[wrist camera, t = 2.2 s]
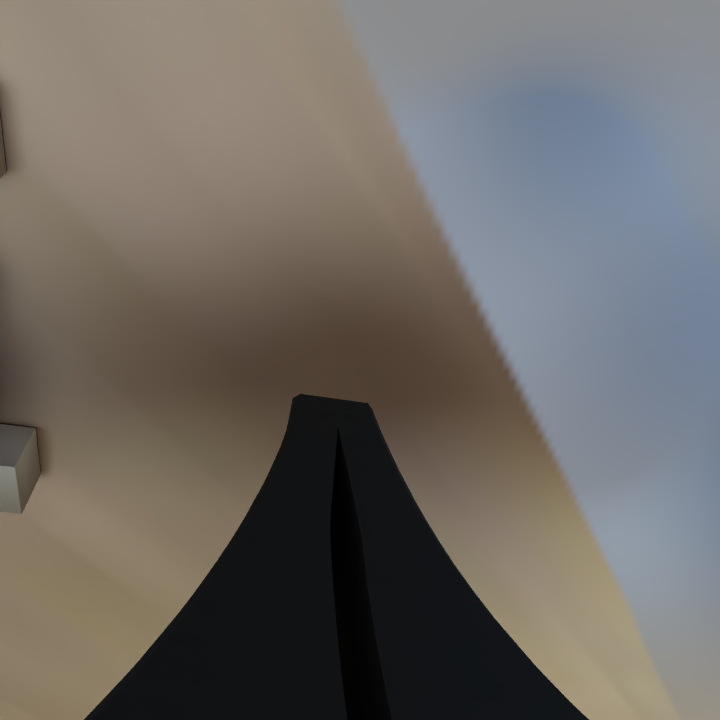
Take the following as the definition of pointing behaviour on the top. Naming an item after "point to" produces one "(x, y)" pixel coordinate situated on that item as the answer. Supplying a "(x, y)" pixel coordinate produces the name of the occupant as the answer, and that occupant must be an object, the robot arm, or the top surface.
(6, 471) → the guide channel
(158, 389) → the top surface
